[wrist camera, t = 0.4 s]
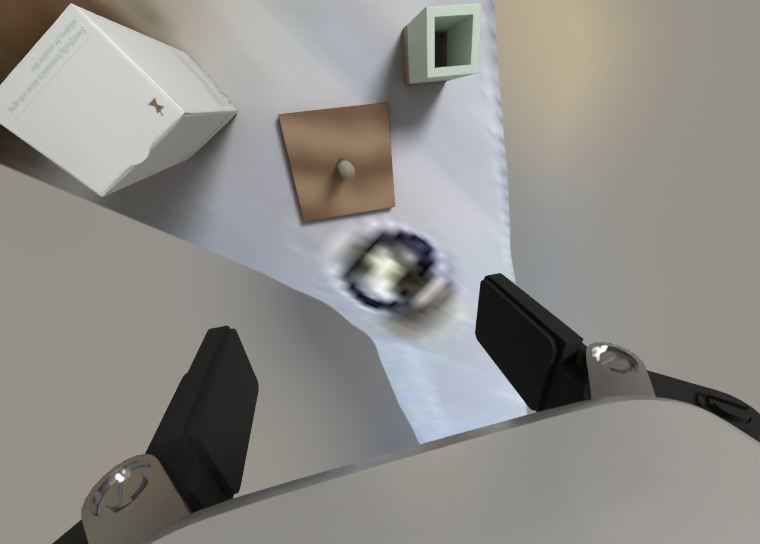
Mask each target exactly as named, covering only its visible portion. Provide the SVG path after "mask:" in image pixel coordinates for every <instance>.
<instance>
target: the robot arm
mask: <svg viewBox="0 0 760 544" xmlns="http://www.w3.org/2000/svg"><path fill="white" fill-rule="evenodd" d="M475 334H476V338H477V340H478V341H479V343H480V344H481V345H482V347H483V348H484V349H485V351H486V352H487V353H488V355H489V356H490V357H491V358H492V360H493V361H494V362H495V364H496V365H497V366H498V368H499V369H500V370H501V371H502V373H503V374H504V375H505V377H506V378H507V379H508V381H509V382H510V383H511V384H512V386H513V387H514V388H515V390H516V391H517V392H518V394H519V395H520V396H521V398H522V399H523V400H524V401H525V403H526V404H527V405H528V407H529V408H530V409H532V410H534V411H535V410H536V412H537V413H533V414H529V415H525V416H522V417H518V418H514V419H511V420H507V421H504V422H500V423H496V424H493V425H489V426H485V427H482V428H478V429H474V430H471V431H467V432H463V433H460V434H456V435H452V436H449V437H445V438H442V439H438V440H435V441H431V442H427V443H424V444H420V445H417V446H413V447H409V448H406V449H402V450H399V451H395V452H392V453H388V454H385V455H381V456H378V457H374V458H370V459H367V460H363V461H360V462H357V463H353V464H349V465H346V466H342V467H339V468H335V469H332V470H328V471H325V472H321V473H318V474H314V475H311V476H307V477H304V478H300V479H297V480H293V481H290V482H286V483H283V484H280V485H277V486H273V487H270V488H266V489H263V490H260V491H257V492H253V493H250V494H247V495H244V496H241V497H237V498H233V495H234V494H236V493H238V492H239V490H240V487H241V482H242V476H243V471H244V465H245V459H246V455H247V449H248V443H249V438H250V433H251V428H252V422H253V417H254V411H255V406H256V401H257V395H258V381H257V378H256V376H255V374H254V372H253V369H252V367H251V364H250V362H249V360H248V357H247V355H246V353H245V350H244V348H243V345H242V343H241V341H240V338H239V336H238V334H237V331H236V330H235V329H230V327H229V326H223V327H217V328H212V329H209V330H208V331H207V333H206V335H205V338H204V340H203V342H202V344H201V346H200V348H199V350H198V352H197V354H196V357H195V358H194V360H193V363H192V365H191V367H190V369H189V371H188V373H186V374H185V375H184V376H183V378H182V380H181V382H180V384H179V386H178V388H177V390H176V392H175V394H174V396H173V398H172V400H171V402H170V404H169V406H168V408H167V410H166V412H165V414H164V417H163V419H162V421H161V423H160V425H159V427H158V429H157V431H156V433H155V435H154V437H153V439H152V441H151V443H150V445H149V447H148V449H147V451H146V453H145V454H142V455H136V456H135V457H132V458H129V459H127V460H125V461H123V462H122V463H120V464H118V465H117V466H115V467H114V468H112V469H111V470H110V471H109V472H108V473H107V474H105V475H104V476H103V477H102V478H101V479H100V480H99V481H98V482H97V483H96V485H95V486H94V487H93V488H92V490H91V491H90V493H89V494H88V496H87V497H86V499H85V502H84V504H83V507H82V510H81V514H82V515H81V516H82V517H81V519H82V520H80V521H79V522H78V523H77V524H76V525H74V526H73V527H72V528H71V529H70V530H68V531H67V532H66V533H65V534H64V535H62V536H61V537H60V538H59V539H58V540H57V541H55V542H54V543H53V544H760V414H759V413H758V412H757V411H756V410H755V409H753V408H752V407H751V406H749V405H747V404H746V403H744V402H743V401H741V400H739V399H737V398H735V397H733V396H731V395H728V394H726V393H723V392H720V391H717V390H714V389H710V388H706V387H703V386H699V385H696V384H693V383H689V382H686V381H682V380H679V379H675V378H672V377H668V376H665V375H662V374H658V373H654V372H651V371H648V370H647V369H646V366H645V365H644V363H643V361H642V360H641V359H640V358H639V357H638V356H637V355H635V354H634V353H632V352H631V351H629V350H628V349H625V348H623V347H621V346H618V345H615V344H612V343H605V342H595V343H593V344H590V345H589V346H588V347H587V346H585V345H584V344H583V343H582V341H583V338H582V337H580V336H579V335H578V334H577V333H575V332H574V331H573V330H571V329H570V328H569V327H568V326H566V325H565V324H564V323H563V322H562V321H560V320H559V319H558V318H557V317H555V316H554V315H553V314H552V313H550V312H549V311H548V310H546V309H545V308H544V307H543V306H541V305H540V304H539V303H538V302H537V301H535V300H534V299H533V298H531V297H530V296H529V295H528V294H526V293H525V292H524V291H523V290H521V289H520V288H519V287H518V286H516V285H515V284H514V283H513V282H511V281H510V280H509V279H508V278H506V277H505V276H504V275H503V274H501V273H498V274H493V275H488V276H485V278H484V280H482V281H481V284H480V293H479V302H478V311H477V320H476V330H475Z"/></svg>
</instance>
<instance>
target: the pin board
mask: <svg viewBox="0 0 760 544" xmlns="http://www.w3.org/2000/svg"><path fill="white" fill-rule="evenodd" d="M278 115H279V119H280V123H281V127H282V131H283V135H284V140H285V144H286V148H287V152H288V156H289V160H290V165H291V169H292V173H293V177H294V181H295V185H296V189H297V194H298V198H299V202H300V206H301V210H302V214H303V219H304V222H305V221H311V220H317V219H323V218H329V217H335V216H342V215H348V214H354V213H360V212H366V211H372V210H378V209H384V208H390V207H395V198H394V184H393V171H392V157H391V143H390V130H389V116H388V102H386V103H377V104H368V105H359V106H350V107H340V108H331V109H322V110H313V111H304V112H295V113H286V114H278Z"/></svg>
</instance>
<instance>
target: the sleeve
mask: <svg viewBox="0 0 760 544" xmlns="http://www.w3.org/2000/svg"><path fill="white" fill-rule="evenodd" d="M480 17H481V3H475V4H459V5H443V6H427V7H426V8H425V9H423V10H422V11H421V12H420V13H419V14H418V15H417V16H416V17H415V18H414V19H413V20H412V21H411V22H410V23H409V24H408V25H406V26H405V27H404V28H403V41H404V64H405V85H412V84H422V83H432V82H442V81H449V80H452V79H456V78H460V77H464V76H467V75H471V74H475V73H477V68H478V51H479V34H480ZM440 34H441V67H439V68H435V35H440Z"/></svg>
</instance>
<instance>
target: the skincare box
mask: <svg viewBox="0 0 760 544" xmlns="http://www.w3.org/2000/svg"><path fill="white" fill-rule="evenodd" d="M236 114H237V110H236V108H235V107H234V106H233V105H232V104H231V103H230V102H229V100H228V99H227V98H226V97H225V96H224V95H223V94H222V92H221V91H220V90H219V89H218V88H217V87H216V86H215V85H214V83H213V82H212V81H211V80H210V79H209V78H208V77H207V76H206V75H205V73H204V72H203V71H202V70H201V69H200V68H199V67H198V66H197V65H196V63H195V62H194V61H193V60H192V59H191V58H190V57H189V56H188V55H187V54H186V53H185V52H183V51H180V50H178V49H176V48H173V47H171V46H169V45H166V44H164V43H162V42H159V41H157V40H155V39H152V38H150V37H148V36H145V35H143V34H141V33H138V32H136V31H134V30H131V29H129V28H127V27H124V26H122V25H120V24H118V23H115V22H113V21H111V20H108V19H106V18H104V17H101V16H99V15H96V14H94V13H92V12H90V11H87V10H85V9H83V8H80V7H78V6H76V5H74V4H72V3H71V4H70V5H69V6H68V7H67V8H66V9H65V11H64V12H63V13H62V14H61V15H60V17H59V18H58V19H57V20H56V21H55V23H54V24H53V25H52V26H51V27H50V28H49V30H48V31H47V32H46V33H45V34H44V35H43V36H42V38H41V39H40V40H39V41H38V42H37V43H36V44H35V46H34V47H33V48H32V49H31V50H30V51H29V53H28V54H27V55H26V56H25V57H24V58H23V60H22V61H21V62H20V63H19V64H18V65H17V66H16V67H15V69H14V70H13V71H12V72H11V73H10V74H9V76H8V77H7V78H6V79H5V80H4V81H3V83H2V84H1V85H0V124H1V125H3V126H4V127H6V128H7V129H8V130H10V131H11V132H13V133H14V134H15V135H17V136H18V137H19V138H21V139H22V140H23V141H25V142H26V143H28V144H29V145H30V146H32V147H33V148H34V149H36V150H37V151H38V152H40V153H41V154H43V155H44V156H45V157H47V158H48V159H49V160H51V161H52V162H54V163H55V164H56V165H58V166H59V167H60V168H62V169H63V170H65V171H66V172H67V173H69V174H70V175H71V176H73V177H74V178H76V179H77V180H78V181H80V182H81V183H82V184H84V185H85V186H87V187H88V188H89V189H91V190H92V191H94V192H95V193H96V194H97V195H99V196H101V197H104V196H106V195H109V194H111V193H113V192H115V191H118V190H120V189H122V188H124V187H127V186H129V185H131V184H133V183H136V182H138V181H140V180H142V179H144V178H147V177H149V176H151V175H154V174H156V173H158V172H160V171H163V170H165V169H167V168H169V167H171V166H174V165H176V164H178V163H181V162H183V161H185V160H188V159H189V158H190V157H192V156H193V155H194V154H195V153H196V152H197V151H198V150H199V149H200V148H201V147H203V146H204V145H205V144H206V143H207V142H208V141H209V140H210V139H211V138H212V137H213V136H214V135H215V134H216V133H217V132H218V131H219V130H220V129H221V128H223V127H224V126H225V125H226V124H227V123H228V122H229V121H230V120H231V119H232V118H233V117H234V116H235V115H236Z"/></svg>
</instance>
